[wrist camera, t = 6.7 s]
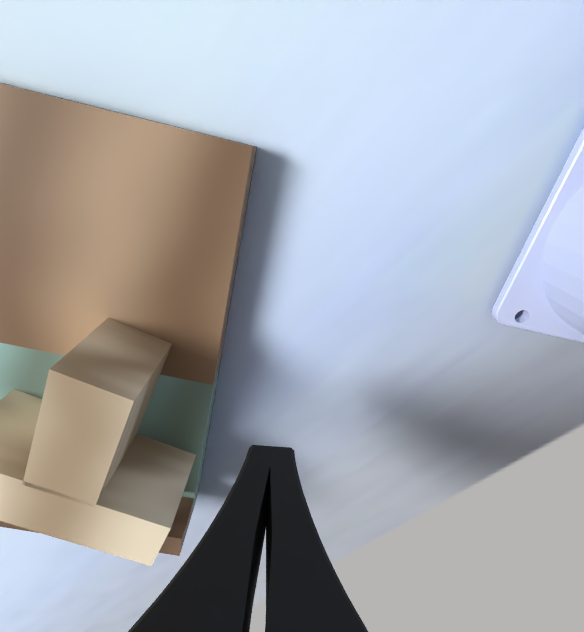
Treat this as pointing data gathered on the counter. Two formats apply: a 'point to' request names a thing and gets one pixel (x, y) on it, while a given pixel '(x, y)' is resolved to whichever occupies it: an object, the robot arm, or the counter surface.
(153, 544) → the t block
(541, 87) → the counter surface
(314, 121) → the counter surface
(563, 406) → the counter surface
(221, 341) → the board
